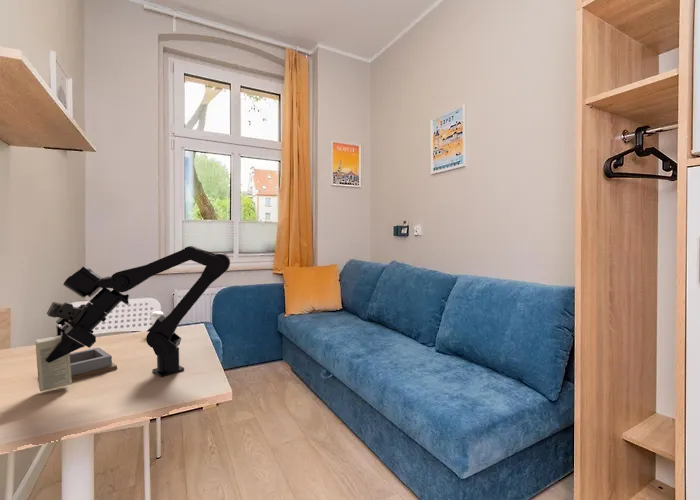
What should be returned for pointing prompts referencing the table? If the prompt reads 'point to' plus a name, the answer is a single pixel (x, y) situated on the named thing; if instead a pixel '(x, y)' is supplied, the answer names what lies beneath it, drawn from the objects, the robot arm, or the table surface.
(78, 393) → the table surface
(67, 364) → the skincare box
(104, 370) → the walnut board
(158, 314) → the milkshake
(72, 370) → the square frame
